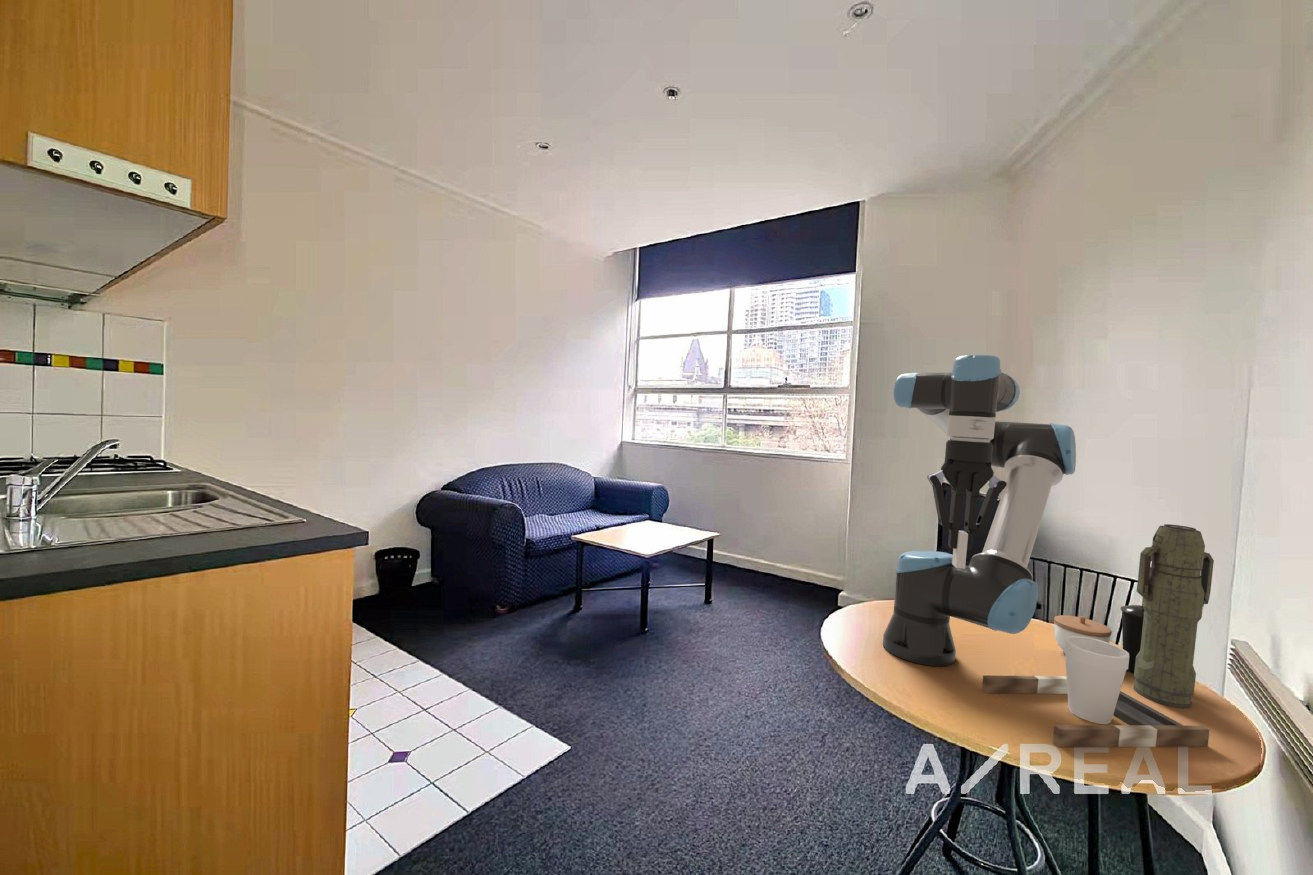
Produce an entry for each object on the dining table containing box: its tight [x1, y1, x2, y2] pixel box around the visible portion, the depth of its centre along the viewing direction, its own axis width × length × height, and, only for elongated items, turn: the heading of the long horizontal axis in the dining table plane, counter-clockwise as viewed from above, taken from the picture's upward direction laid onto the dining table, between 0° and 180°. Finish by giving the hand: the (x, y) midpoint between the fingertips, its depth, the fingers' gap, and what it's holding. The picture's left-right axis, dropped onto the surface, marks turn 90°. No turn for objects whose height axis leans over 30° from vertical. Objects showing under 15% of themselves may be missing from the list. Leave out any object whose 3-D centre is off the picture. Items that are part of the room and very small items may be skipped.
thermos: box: [1133, 523, 1215, 709], centre depth 110 cm, size 9×12×35 cm
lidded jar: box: [1053, 614, 1113, 653], centre depth 129 cm, size 11×11×9 cm
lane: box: [981, 674, 1210, 748], centre depth 101 cm, size 28×18×3 cm, turn 96°
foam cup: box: [1063, 636, 1129, 725], centre depth 101 cm, size 10×9×13 cm
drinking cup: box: [1120, 597, 1144, 675], centre depth 121 cm, size 8×8×20 cm
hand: (958, 566), depth 101 cm, fingers closed
